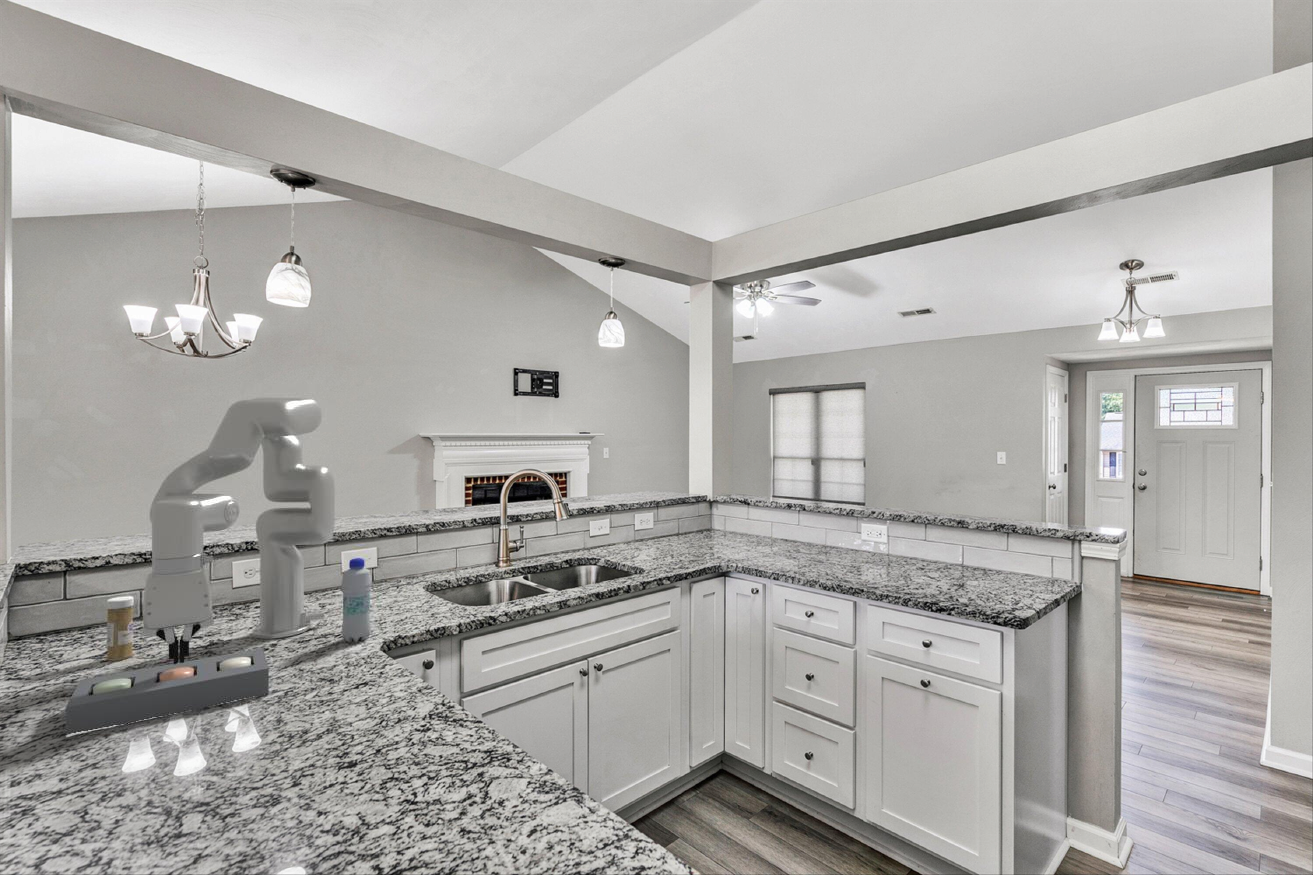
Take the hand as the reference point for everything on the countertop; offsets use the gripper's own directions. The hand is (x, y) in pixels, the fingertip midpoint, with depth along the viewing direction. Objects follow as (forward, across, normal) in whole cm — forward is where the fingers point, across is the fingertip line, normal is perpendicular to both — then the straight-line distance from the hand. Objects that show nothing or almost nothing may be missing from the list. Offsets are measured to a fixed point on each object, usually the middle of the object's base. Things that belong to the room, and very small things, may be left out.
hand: (179, 661), depth 113 cm
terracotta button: (+5, 0, +1) cm, 5 cm away
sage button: (+5, +9, +1) cm, 11 cm away
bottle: (+8, -34, -17) cm, 39 cm away
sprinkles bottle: (+8, +11, -35) cm, 38 cm away
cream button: (+5, -9, +1) cm, 10 cm away
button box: (+7, 0, +1) cm, 7 cm away
